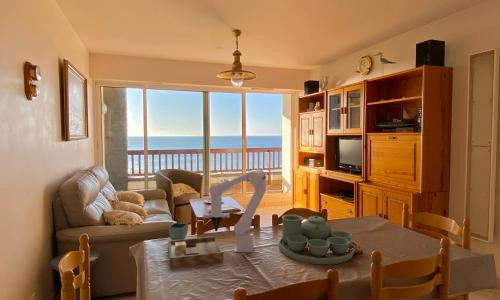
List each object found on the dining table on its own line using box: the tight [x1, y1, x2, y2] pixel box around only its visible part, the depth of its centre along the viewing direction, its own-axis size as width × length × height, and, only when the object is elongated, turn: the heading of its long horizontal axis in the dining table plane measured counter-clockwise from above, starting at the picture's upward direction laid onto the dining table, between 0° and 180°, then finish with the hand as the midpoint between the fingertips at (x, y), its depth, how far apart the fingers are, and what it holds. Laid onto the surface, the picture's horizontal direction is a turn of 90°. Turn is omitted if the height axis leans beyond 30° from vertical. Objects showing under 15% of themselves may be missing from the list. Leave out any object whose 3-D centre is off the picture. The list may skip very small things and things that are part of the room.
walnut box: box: [167, 235, 224, 268], centre depth 159 cm, size 25×24×4 cm
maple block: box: [175, 242, 186, 254], centre depth 157 cm, size 5×5×4 cm
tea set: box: [278, 214, 356, 265], centre depth 167 cm, size 40×40×16 cm
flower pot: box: [168, 222, 189, 240], centre depth 179 cm, size 9×9×9 cm
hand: (216, 230), depth 172 cm, fingers closed
